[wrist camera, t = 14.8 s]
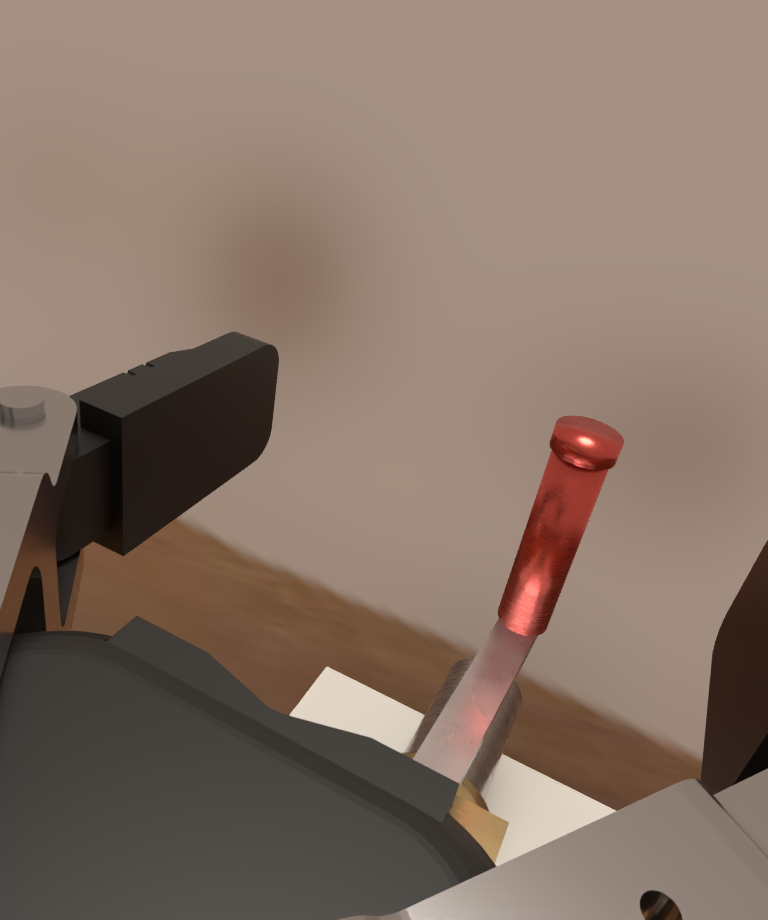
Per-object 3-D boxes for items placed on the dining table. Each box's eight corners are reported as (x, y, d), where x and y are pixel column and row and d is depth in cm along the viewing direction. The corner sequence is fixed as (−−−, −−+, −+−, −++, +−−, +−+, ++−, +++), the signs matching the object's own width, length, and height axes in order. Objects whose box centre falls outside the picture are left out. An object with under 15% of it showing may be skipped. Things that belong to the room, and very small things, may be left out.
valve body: (50, 1358, 22) (26, 1266, 17) (410, 722, 45) (444, 604, 40) (242, 1536, 20) (276, 1488, 15) (518, 776, 43) (567, 659, 38)
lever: (418, 906, 26) (510, 654, 20) (341, 857, 27) (404, 601, 21) (551, 636, 39) (632, 433, 33) (496, 609, 40) (564, 408, 34)
